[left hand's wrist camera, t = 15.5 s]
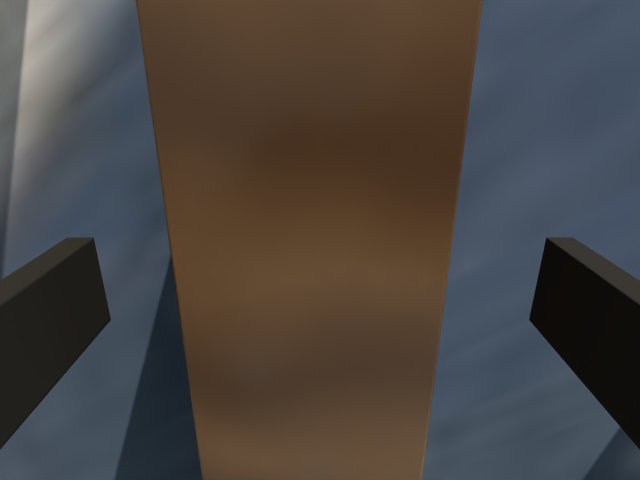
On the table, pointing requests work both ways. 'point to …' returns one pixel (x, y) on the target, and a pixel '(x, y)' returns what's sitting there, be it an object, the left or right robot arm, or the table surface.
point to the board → (310, 221)
